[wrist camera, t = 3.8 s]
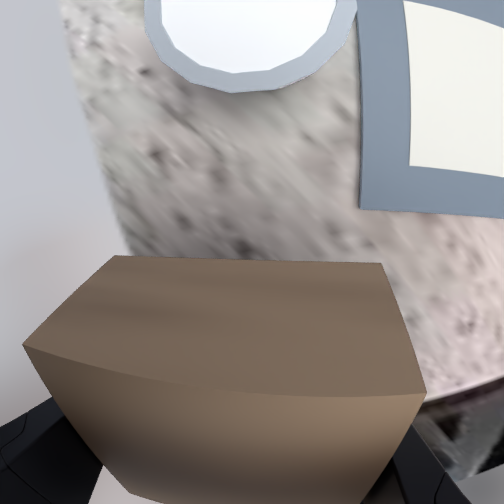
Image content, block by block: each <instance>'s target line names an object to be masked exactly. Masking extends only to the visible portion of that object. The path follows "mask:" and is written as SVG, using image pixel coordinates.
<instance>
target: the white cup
mask: <svg viewBox="0 0 504 504" xmlns="http://www.w3.org/2000/svg"><path fill="white" fill-rule="evenodd" d="M356 12H357V2H356V0H144V14H145V32H146V34H147V36H148V38H149V40H150V42H151V43H152V45H153V47H154V49H155V51H156V53H157V54H158V56H159V58H160V60H161V61H162V62H163V63H165V64H166V65H167V66H169V67H170V68H171V69H173V70H174V71H176V72H177V73H178V74H180V75H181V76H182V77H184V78H185V79H186V80H188V81H189V82H190V83H194V84H198V85H202V86H206V87H210V88H213V89H217V90H221V91H225V92H228V93H237V92H248V91H261V90H275V89H280V88H284V87H286V86H288V85H291V84H293V83H295V82H298V81H300V80H302V79H304V78H306V77H308V76H310V75H311V74H313V73H315V72H316V71H317V70H318V69H319V68H320V67H321V66H322V65H323V64H324V63H325V62H326V61H327V60H328V59H329V58H330V57H331V56H332V55H333V54H334V53H335V52H337V51H338V50H339V49H340V48H341V47H342V46H343V45H344V44H345V42H346V39H347V36H348V34H349V31H350V28H351V25H352V23H353V20H354V17H355V14H356Z"/></svg>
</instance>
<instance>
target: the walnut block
mask: <svg viewBox="0 0 504 504" xmlns="http://www.w3.org/2000/svg"><path fill="white" fill-rule="evenodd" d="M22 345H23V347H24V349H25V351H26V353H27V354H28V356H29V358H30V360H31V362H32V363H33V365H34V367H35V369H36V371H37V372H38V374H39V375H40V377H41V379H42V381H43V382H44V384H45V386H46V387H47V389H48V390H49V392H50V394H51V395H52V397H53V398H54V400H55V401H56V403H57V404H58V406H59V407H60V409H61V410H62V412H63V413H64V415H65V416H66V417H67V419H68V420H69V422H70V423H71V424H72V426H73V427H74V429H75V430H76V431H77V433H78V434H79V435H80V437H81V438H82V439H83V440H84V442H85V443H86V444H87V446H88V447H89V448H90V449H91V450H92V452H93V453H94V454H95V455H96V457H97V458H98V459H99V460H100V461H101V462H102V464H103V465H104V466H105V467H106V468H107V469H108V470H109V472H110V473H111V474H112V475H113V476H114V477H115V478H116V479H117V480H118V481H119V483H121V485H122V486H123V487H124V488H125V489H126V490H127V491H128V492H129V493H131V494H134V495H137V496H140V497H143V498H146V499H149V500H153V501H156V502H160V503H163V504H360V503H361V501H362V500H363V499H364V497H365V496H366V494H367V493H368V492H369V490H370V489H371V488H372V486H373V485H374V483H375V482H376V480H377V479H378V477H379V476H380V474H381V473H382V471H383V470H384V468H385V467H386V465H387V464H388V462H389V461H390V459H391V458H392V456H393V454H394V453H395V451H396V449H397V448H398V446H399V444H400V443H401V441H402V439H403V438H404V436H405V434H406V432H407V430H408V429H409V427H410V425H411V423H412V421H413V420H414V418H415V416H416V414H417V412H418V410H419V408H420V406H421V404H422V402H423V400H424V398H425V396H426V394H427V391H426V388H425V384H424V381H423V377H422V374H421V371H420V368H419V364H418V361H417V358H416V355H415V352H414V349H413V346H412V343H411V340H410V337H409V334H408V331H407V329H406V326H405V323H404V320H403V317H402V315H401V312H400V309H399V307H398V304H397V301H396V299H395V296H394V294H393V291H392V289H391V286H390V284H389V281H388V279H387V276H386V274H385V271H384V269H383V266H382V264H381V263H358V262H315V261H276V260H240V259H207V258H176V257H146V256H117V255H115V256H113V257H112V258H111V259H110V260H109V261H108V262H106V263H105V264H104V265H103V266H102V267H101V268H100V269H99V270H97V272H95V273H94V274H93V275H92V276H91V277H90V278H89V279H88V280H87V281H86V282H84V283H83V284H82V285H81V286H80V287H79V288H78V289H77V290H76V291H75V292H74V293H73V294H72V295H71V296H70V297H69V298H67V299H66V300H65V301H64V302H63V303H62V304H61V305H60V306H59V307H58V308H57V309H56V310H55V311H54V312H53V313H52V314H51V315H50V316H49V317H48V318H47V319H46V320H45V321H44V322H43V323H42V324H41V325H40V326H39V327H38V328H37V329H36V330H35V331H34V332H33V333H32V334H31V335H30V336H29V337H28V338H27V339H26V341H25V342H24V343H23V344H22Z"/></svg>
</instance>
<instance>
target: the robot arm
mask: <svg viewBox="0 0 504 504" xmlns="http://www.w3.org/2000/svg"><path fill="white" fill-rule="evenodd" d="M102 467H103V464H102V462H101V461H100V460H99V459H98V458H97V457H96V455H95V454H94V453H93V452H92V450H91V449H90V448H89V447H88V446H87V444H86V443H85V442H84V440H83V439H82V438H81V437H80V435H79V434H78V433H77V431H76V430H75V429H74V427H73V426H72V424H71V423H70V422H69V420H68V419H67V417H66V416H65V415H64V413H63V412H62V410H61V409H60V407H59V406H58V404H57V403H56V401H55V400H54V398H53V397H51V398H49V399H48V400H46V401H45V402H43V403H41V404H39V405H38V406H36V407H34V408H33V409H31V410H29V411H28V412H26V413H24V414H23V415H21V416H19V417H18V418H16V419H14V420H12V421H11V422H9V423H7V424H5V425H3V426H1V427H0V504H88V503H89V500H90V498H91V495H92V492H93V490H94V487H95V485H96V482H97V480H98V477H99V474H100V472H101V469H102ZM360 504H471V503H470V501H469V500H468V499H467V498H466V497H465V496H464V495H463V493H462V492H461V491H460V489H459V488H458V487H457V485H456V484H455V483H454V481H453V480H452V478H451V477H450V476H449V474H448V473H447V472H445V469H444V467H443V466H442V465H441V463H440V462H439V460H438V459H437V458H436V456H435V455H434V454H433V452H432V451H431V449H430V448H429V447H428V445H427V444H426V442H425V441H424V440H423V438H422V437H421V436H420V434H419V433H418V432H417V430H416V429H415V427H414V426H413V425H412V423H411V425H410V427H409V429H408V430H407V432H406V434H405V436H404V438H403V439H402V441H401V443H400V444H399V446H398V448H397V449H396V451H395V453H394V454H393V456H392V458H391V459H390V461H389V462H388V464H387V465H386V467H385V468H384V470H383V471H382V473H381V474H380V476H379V477H378V479H377V480H376V482H375V483H374V485H373V486H372V488H371V489H370V490H369V492H368V493H367V494H366V496H365V497H364V499H363V500H362V501H361V503H360Z"/></svg>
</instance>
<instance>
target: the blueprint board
mask: <svg viewBox="0 0 504 504" xmlns="http://www.w3.org/2000/svg"><path fill="white" fill-rule="evenodd" d="M356 2H357V12H356V23H357V35H358V48H359V64H360V86H361V169H360V193H359V207H360V209H363V210H386V211H406V212H423V213H439V214H453V215H466V216H479V217H490V218H501V219H504V0H356Z"/></svg>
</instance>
